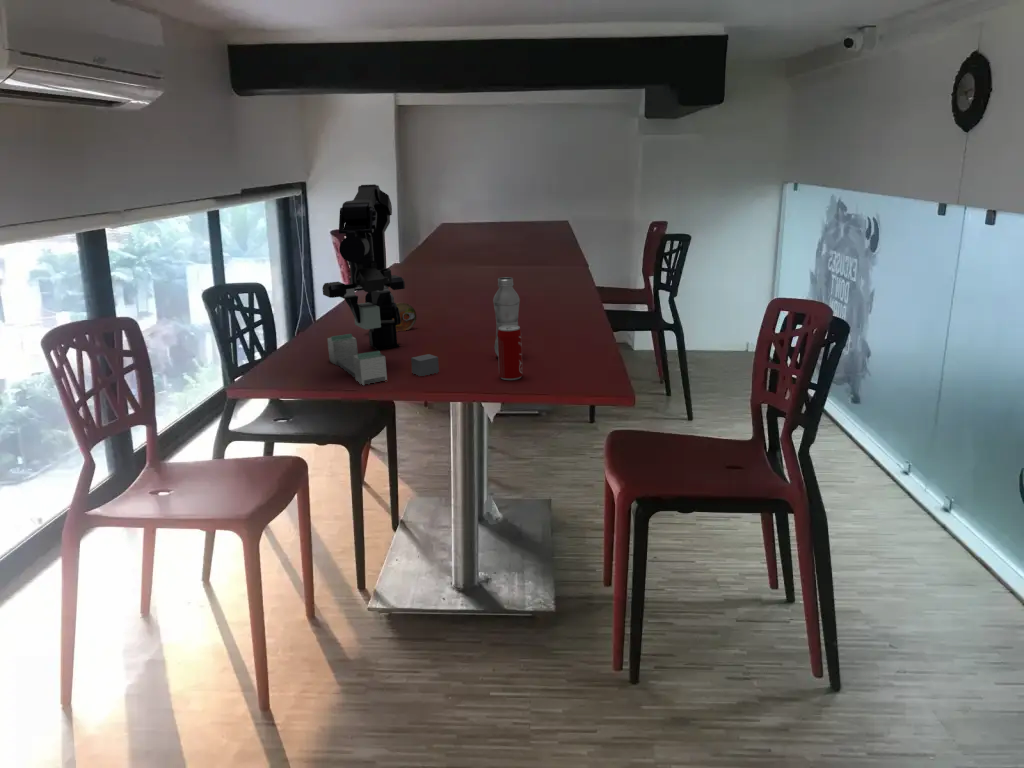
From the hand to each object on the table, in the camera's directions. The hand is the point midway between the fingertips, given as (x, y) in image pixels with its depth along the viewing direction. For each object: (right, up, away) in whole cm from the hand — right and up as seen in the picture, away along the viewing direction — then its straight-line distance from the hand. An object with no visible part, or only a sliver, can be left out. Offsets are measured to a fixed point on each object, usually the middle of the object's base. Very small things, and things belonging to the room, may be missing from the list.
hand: (367, 321), depth 188 cm
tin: (0, 0, +42) cm, 42 cm away
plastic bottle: (+34, -8, +9) cm, 36 cm away
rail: (-3, -12, +2) cm, 12 cm away
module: (0, -1, 0) cm, 1 cm away
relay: (+14, -13, -2) cm, 19 cm away
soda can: (+35, -14, -8) cm, 38 cm away
